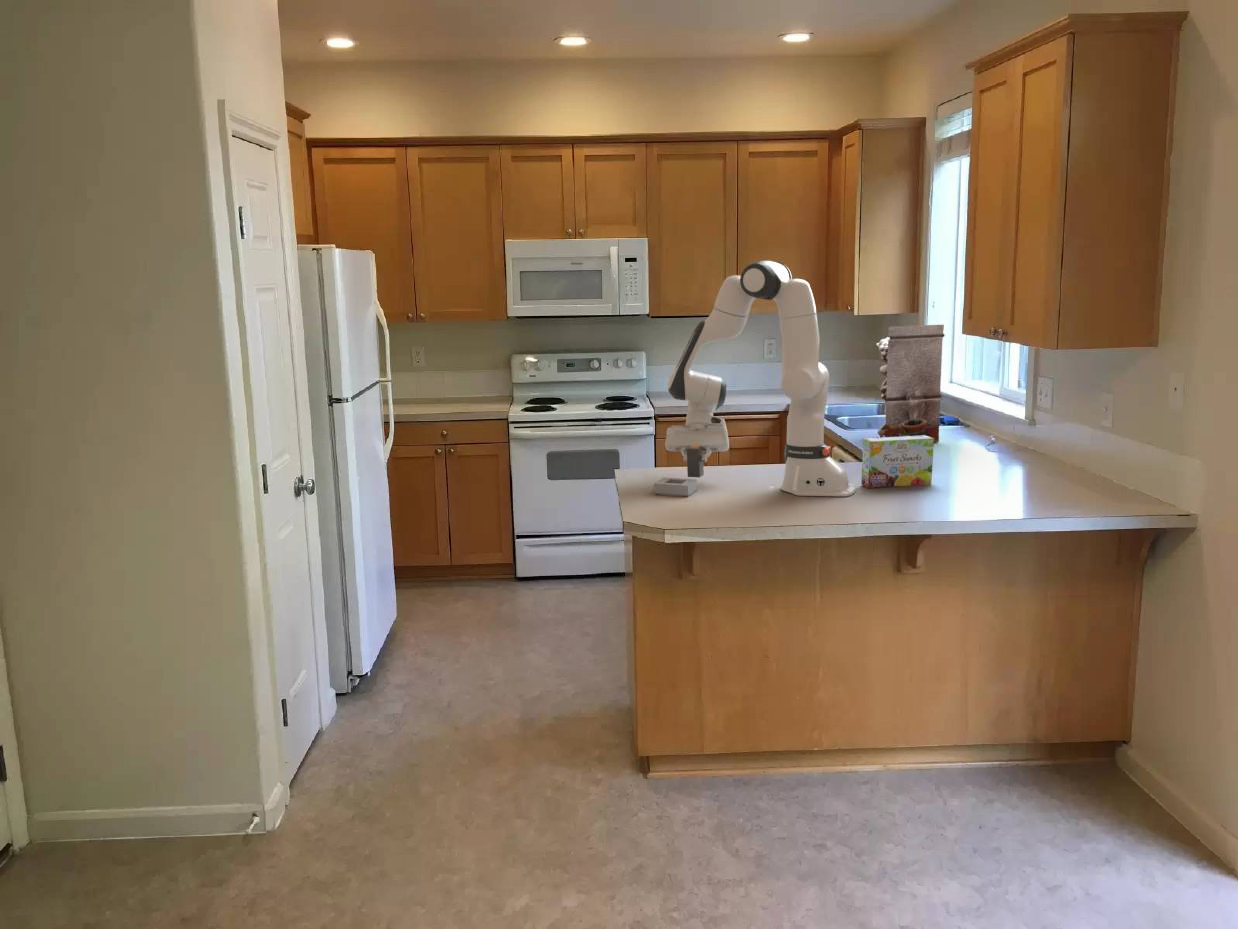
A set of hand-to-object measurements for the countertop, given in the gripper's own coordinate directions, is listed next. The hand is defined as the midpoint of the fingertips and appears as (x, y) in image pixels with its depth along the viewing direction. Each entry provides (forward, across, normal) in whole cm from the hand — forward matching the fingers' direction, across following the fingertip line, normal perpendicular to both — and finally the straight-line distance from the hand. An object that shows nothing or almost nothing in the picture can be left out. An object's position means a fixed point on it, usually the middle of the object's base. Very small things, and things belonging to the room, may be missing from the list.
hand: (694, 461), depth 296 cm
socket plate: (+12, -5, -1) cm, 13 cm away
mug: (-26, +65, +40) cm, 80 cm away
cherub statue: (-57, +65, +71) cm, 112 cm away
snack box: (-1, +61, +15) cm, 63 cm away
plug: (+3, 0, +4) cm, 5 cm away
